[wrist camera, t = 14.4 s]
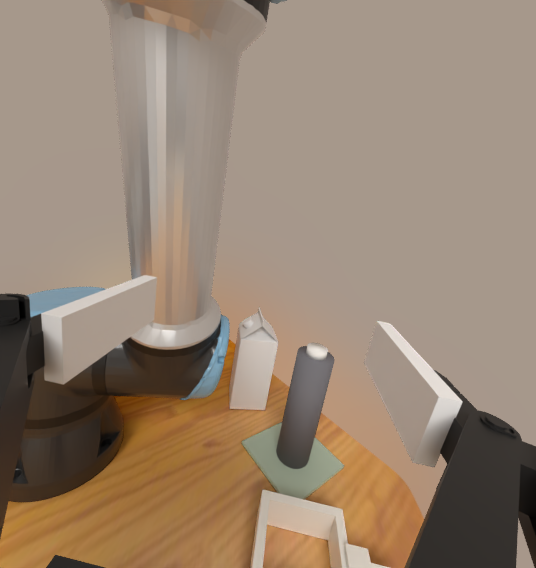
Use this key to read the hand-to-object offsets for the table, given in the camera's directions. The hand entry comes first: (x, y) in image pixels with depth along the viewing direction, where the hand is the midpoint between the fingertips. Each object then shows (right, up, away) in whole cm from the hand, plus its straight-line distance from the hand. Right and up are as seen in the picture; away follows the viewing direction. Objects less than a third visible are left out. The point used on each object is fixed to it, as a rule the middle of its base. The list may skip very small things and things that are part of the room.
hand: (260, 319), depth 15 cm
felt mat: (+4, -26, +28) cm, 38 cm away
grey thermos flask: (+4, -26, +27) cm, 38 cm away
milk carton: (-4, -22, +39) cm, 45 cm away
